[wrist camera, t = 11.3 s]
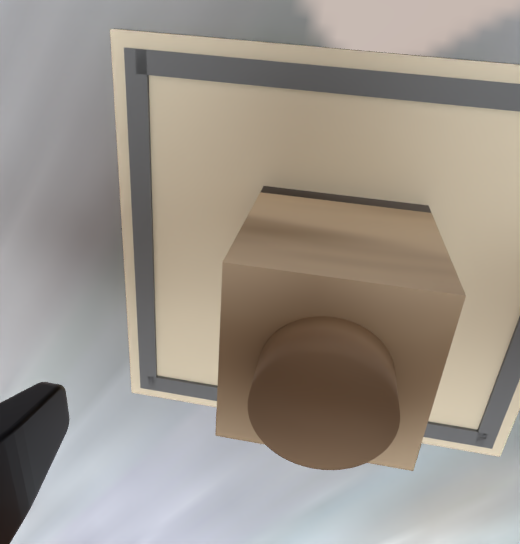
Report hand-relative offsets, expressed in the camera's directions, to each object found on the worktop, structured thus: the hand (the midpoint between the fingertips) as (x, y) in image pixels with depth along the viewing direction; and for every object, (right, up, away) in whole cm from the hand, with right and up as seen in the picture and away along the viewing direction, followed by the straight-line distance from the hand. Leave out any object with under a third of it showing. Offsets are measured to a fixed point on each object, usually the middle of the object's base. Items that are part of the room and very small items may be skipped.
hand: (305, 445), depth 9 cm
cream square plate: (+1, +3, +6) cm, 7 cm away
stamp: (+1, +3, +6) cm, 7 cm away
